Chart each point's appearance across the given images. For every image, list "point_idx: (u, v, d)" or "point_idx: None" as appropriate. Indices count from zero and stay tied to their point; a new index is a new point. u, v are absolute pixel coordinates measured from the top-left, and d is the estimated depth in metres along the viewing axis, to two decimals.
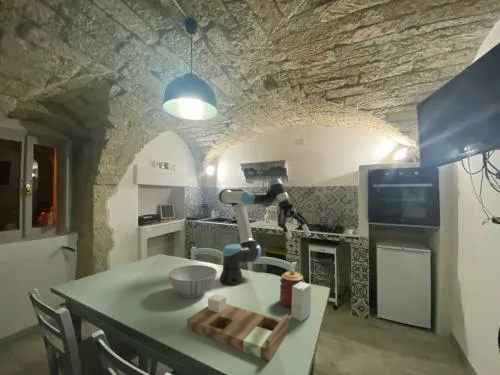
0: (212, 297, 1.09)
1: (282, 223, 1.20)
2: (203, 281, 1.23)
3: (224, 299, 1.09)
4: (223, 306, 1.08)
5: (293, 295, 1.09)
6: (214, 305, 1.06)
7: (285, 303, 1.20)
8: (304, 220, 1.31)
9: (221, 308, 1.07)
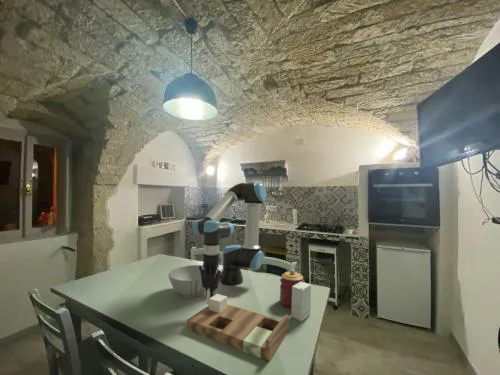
0: (213, 297, 1.09)
1: None
2: None
3: (225, 299, 1.09)
4: (224, 306, 1.08)
5: (293, 295, 1.09)
6: (215, 306, 1.06)
7: (285, 303, 1.20)
8: (217, 285, 1.10)
9: (222, 308, 1.07)
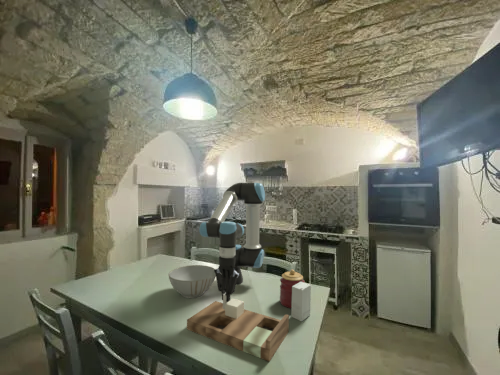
0: (229, 302, 1.04)
1: None
2: (203, 281, 1.23)
3: (242, 304, 1.04)
4: (241, 312, 1.03)
5: (293, 295, 1.09)
6: (231, 311, 1.01)
7: (285, 303, 1.20)
8: (233, 289, 1.05)
9: (239, 314, 1.02)
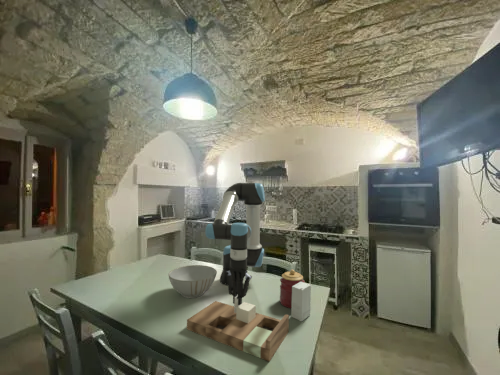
0: (241, 306, 1.01)
1: (233, 293, 1.04)
2: (203, 281, 1.23)
3: (253, 308, 1.01)
4: (252, 316, 1.00)
5: (293, 295, 1.09)
6: (243, 315, 0.98)
7: (285, 303, 1.20)
8: (245, 292, 1.02)
9: (251, 318, 0.99)
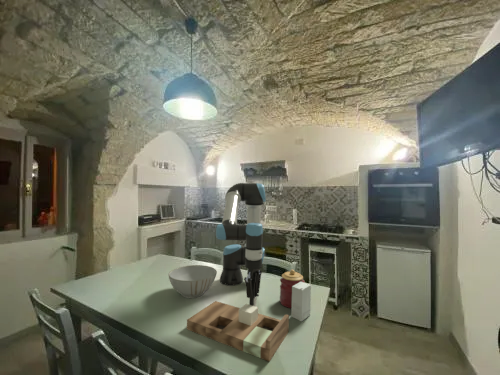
0: (243, 308, 0.99)
1: None
2: (203, 281, 1.23)
3: (256, 310, 0.99)
4: (255, 318, 0.98)
5: (293, 295, 1.09)
6: (245, 318, 0.96)
7: (285, 303, 1.20)
8: None
9: (253, 321, 0.97)
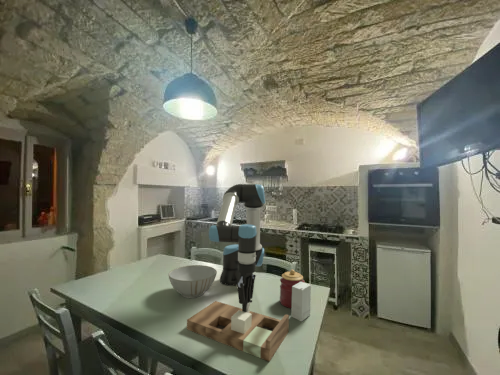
0: (236, 315, 0.93)
1: None
2: (203, 281, 1.23)
3: (249, 317, 0.94)
4: (249, 326, 0.93)
5: (293, 295, 1.09)
6: (239, 326, 0.91)
7: (285, 303, 1.20)
8: None
9: (247, 328, 0.91)
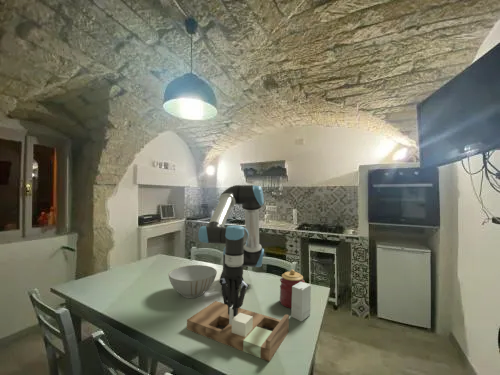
0: (236, 318, 0.91)
1: (228, 302, 0.95)
2: (203, 281, 1.23)
3: (250, 320, 0.92)
4: (249, 328, 0.91)
5: (293, 295, 1.09)
6: (239, 328, 0.89)
7: (285, 303, 1.20)
8: (241, 302, 0.93)
9: (248, 331, 0.89)
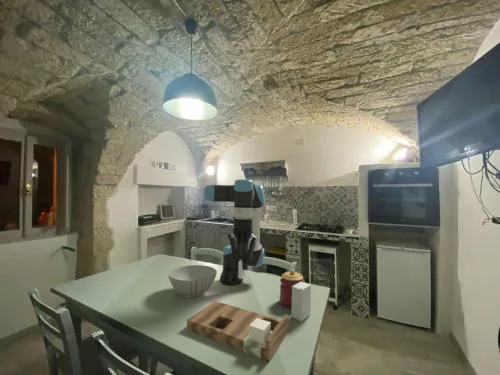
0: (254, 324, 0.88)
1: (236, 257, 0.94)
2: (203, 281, 1.23)
3: (269, 326, 0.88)
4: (268, 335, 0.87)
5: (293, 295, 1.09)
6: (257, 335, 0.85)
7: (285, 303, 1.20)
8: (250, 255, 0.92)
9: (266, 338, 0.86)
